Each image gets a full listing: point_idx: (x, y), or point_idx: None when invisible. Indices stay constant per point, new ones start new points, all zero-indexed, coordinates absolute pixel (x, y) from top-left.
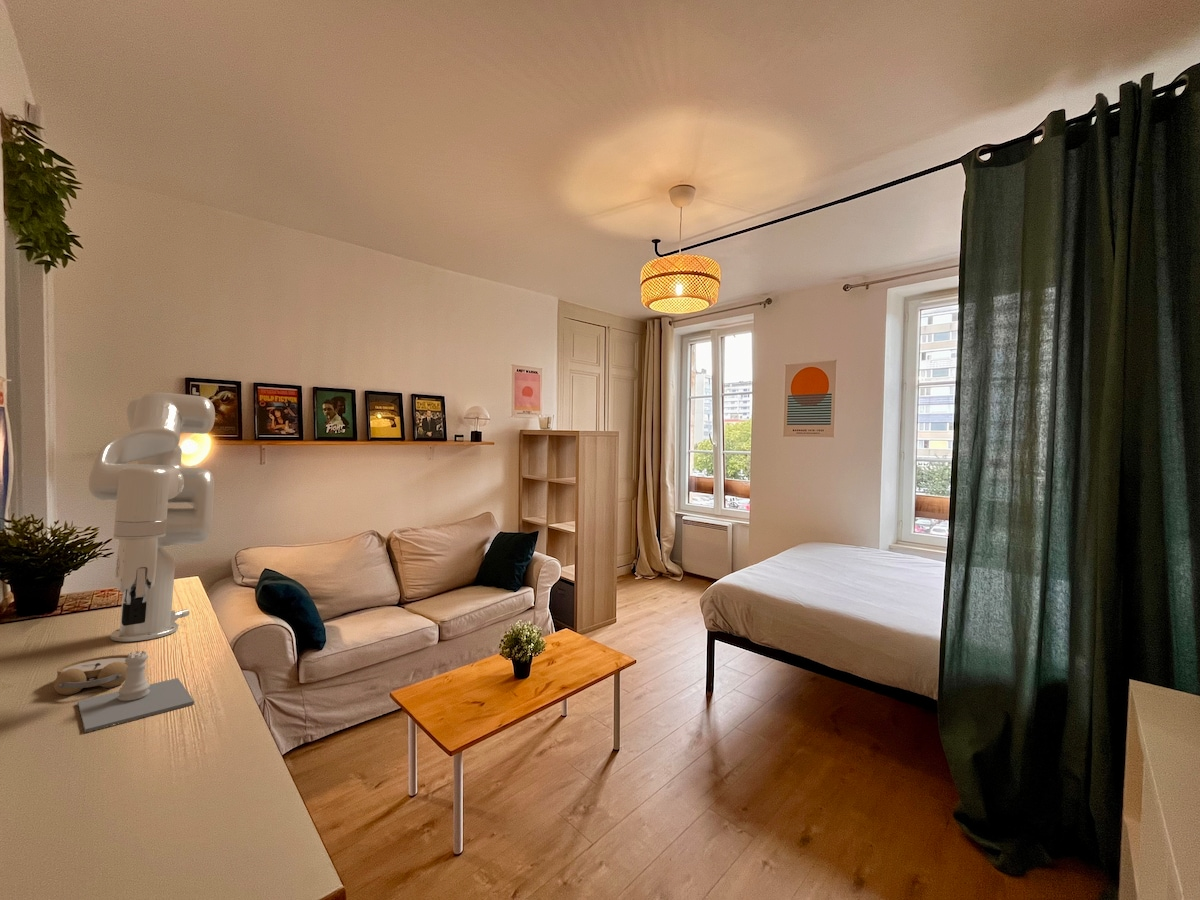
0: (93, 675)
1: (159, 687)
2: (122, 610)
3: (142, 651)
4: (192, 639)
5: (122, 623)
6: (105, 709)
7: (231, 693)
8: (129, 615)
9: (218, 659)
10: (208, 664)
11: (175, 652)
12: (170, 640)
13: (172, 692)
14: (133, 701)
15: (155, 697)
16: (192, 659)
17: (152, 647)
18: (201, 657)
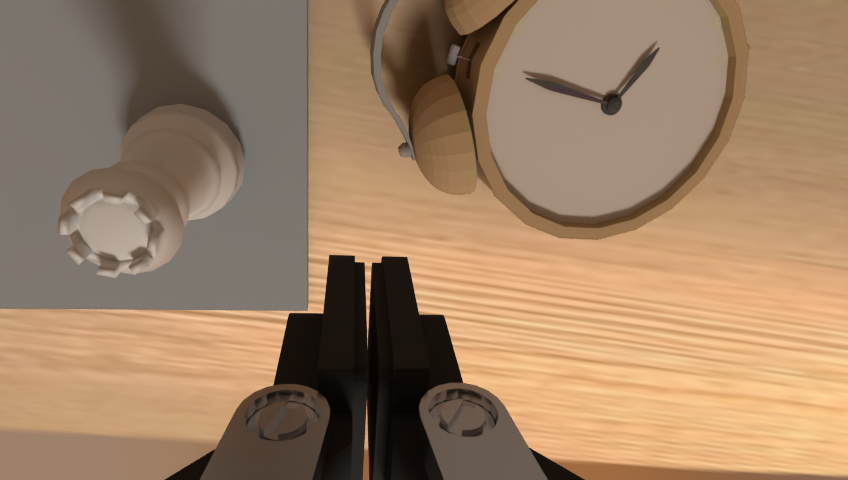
0: (474, 65)
1: (237, 246)
2: (415, 317)
3: (136, 262)
4: (754, 412)
5: (347, 258)
6: (97, 47)
7: (25, 406)
8: (294, 336)
9: None
10: None
11: (657, 350)
12: (814, 360)
13: None
14: None
15: None
16: (523, 377)
17: (791, 304)
18: (520, 401)
